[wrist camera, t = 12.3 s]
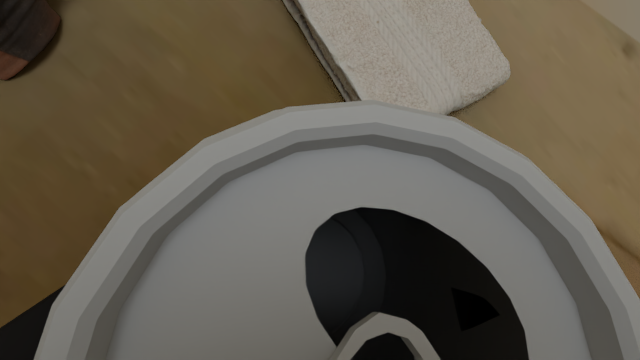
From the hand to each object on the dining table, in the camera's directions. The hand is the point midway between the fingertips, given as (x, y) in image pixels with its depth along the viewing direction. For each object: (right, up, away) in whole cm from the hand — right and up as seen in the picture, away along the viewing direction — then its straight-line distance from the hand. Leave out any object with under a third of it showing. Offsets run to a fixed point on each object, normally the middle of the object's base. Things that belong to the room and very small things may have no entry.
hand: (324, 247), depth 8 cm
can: (-1, -3, +6) cm, 7 cm away
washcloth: (+4, +14, +15) cm, 21 cm away
